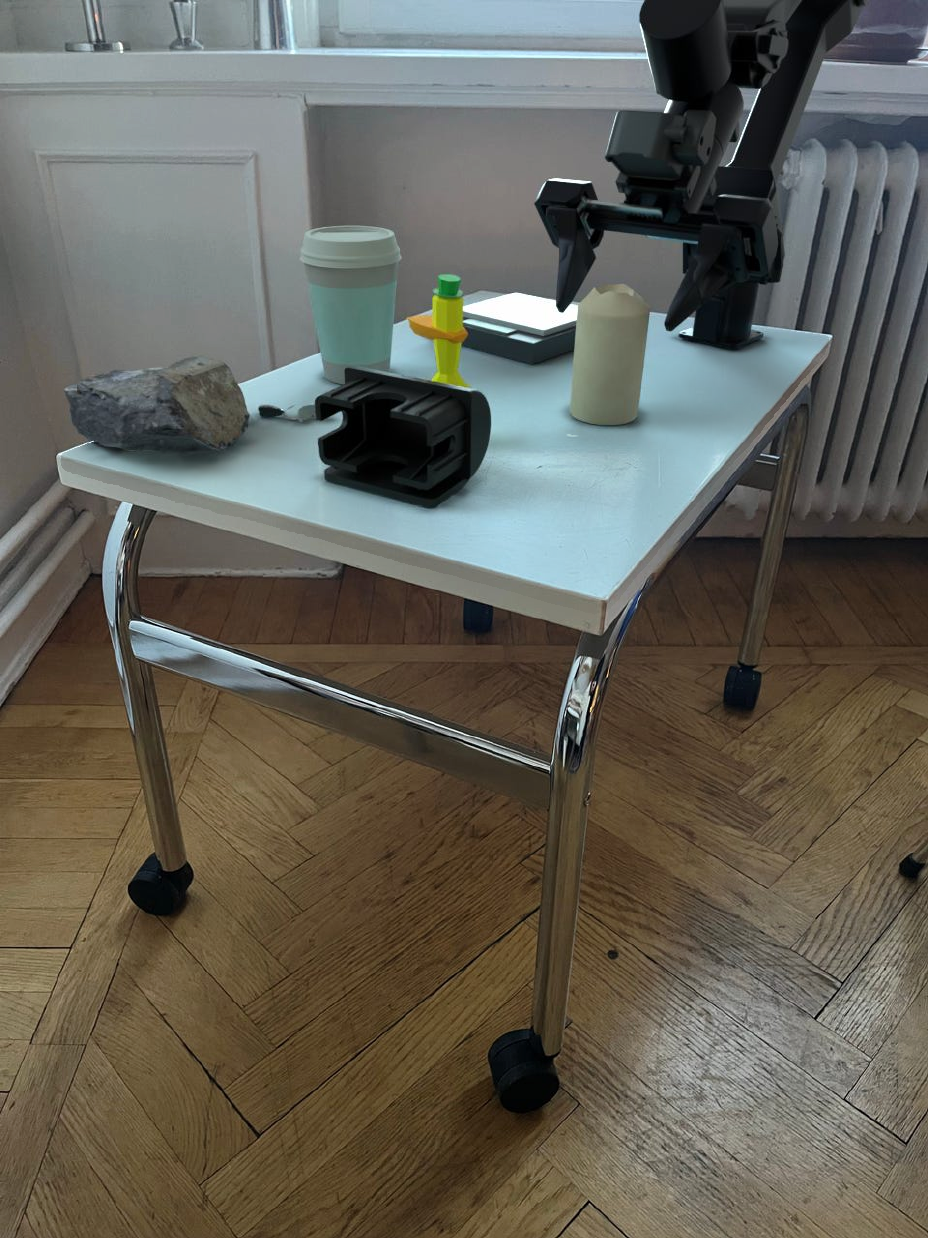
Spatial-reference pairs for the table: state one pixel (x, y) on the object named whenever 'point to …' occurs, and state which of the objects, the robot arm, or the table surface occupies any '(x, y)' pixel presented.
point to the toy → (275, 411)
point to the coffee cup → (352, 295)
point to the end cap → (403, 435)
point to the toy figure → (444, 329)
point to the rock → (161, 407)
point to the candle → (609, 355)
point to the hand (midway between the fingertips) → (611, 318)
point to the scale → (520, 327)
